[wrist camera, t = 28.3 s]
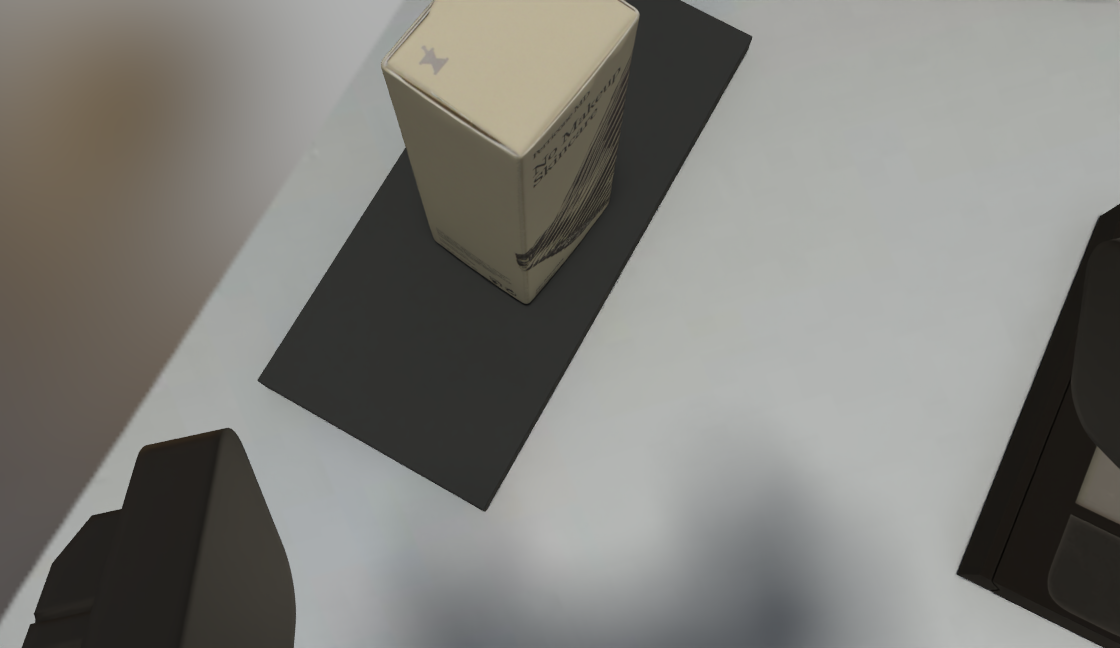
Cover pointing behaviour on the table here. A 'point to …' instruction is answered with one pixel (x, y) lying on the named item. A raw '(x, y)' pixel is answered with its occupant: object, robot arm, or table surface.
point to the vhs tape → (1055, 499)
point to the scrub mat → (491, 288)
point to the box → (513, 126)
